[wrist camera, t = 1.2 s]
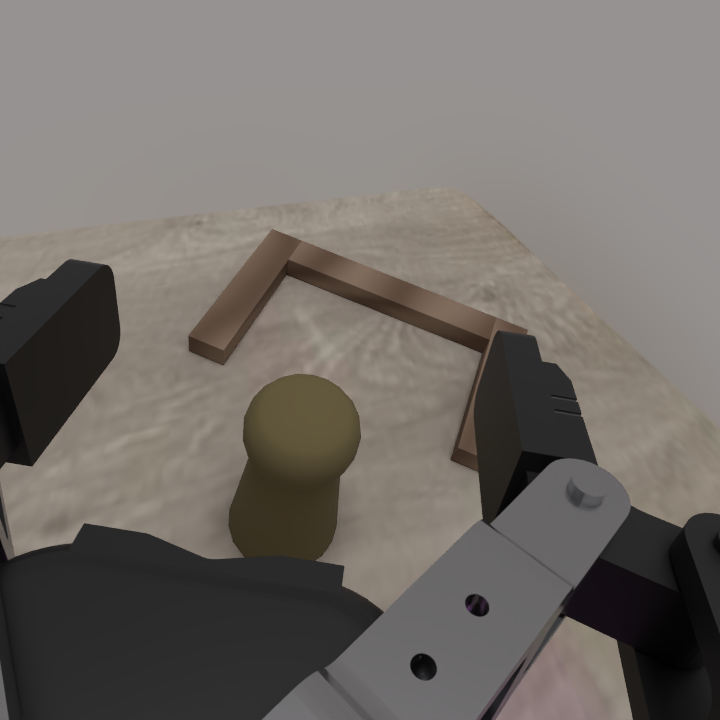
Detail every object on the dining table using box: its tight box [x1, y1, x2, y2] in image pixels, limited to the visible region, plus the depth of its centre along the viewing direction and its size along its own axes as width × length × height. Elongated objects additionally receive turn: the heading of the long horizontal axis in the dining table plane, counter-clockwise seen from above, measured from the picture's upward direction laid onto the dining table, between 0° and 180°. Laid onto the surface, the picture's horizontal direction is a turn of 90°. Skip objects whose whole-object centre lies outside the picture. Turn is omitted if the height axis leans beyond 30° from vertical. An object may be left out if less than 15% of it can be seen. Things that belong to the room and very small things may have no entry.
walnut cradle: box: [189, 229, 528, 471], centre depth 42 cm, size 21×12×2 cm, turn 70°
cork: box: [229, 374, 361, 561], centre depth 29 cm, size 6×6×11 cm
